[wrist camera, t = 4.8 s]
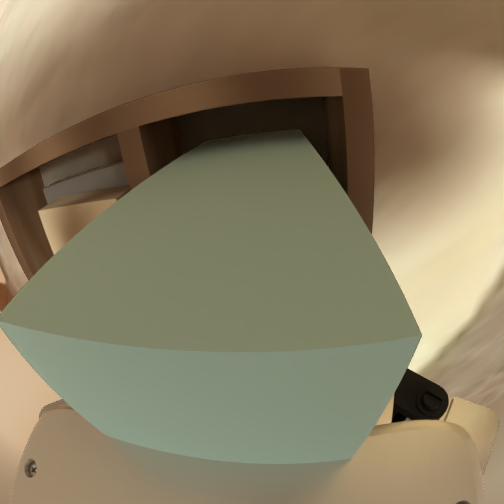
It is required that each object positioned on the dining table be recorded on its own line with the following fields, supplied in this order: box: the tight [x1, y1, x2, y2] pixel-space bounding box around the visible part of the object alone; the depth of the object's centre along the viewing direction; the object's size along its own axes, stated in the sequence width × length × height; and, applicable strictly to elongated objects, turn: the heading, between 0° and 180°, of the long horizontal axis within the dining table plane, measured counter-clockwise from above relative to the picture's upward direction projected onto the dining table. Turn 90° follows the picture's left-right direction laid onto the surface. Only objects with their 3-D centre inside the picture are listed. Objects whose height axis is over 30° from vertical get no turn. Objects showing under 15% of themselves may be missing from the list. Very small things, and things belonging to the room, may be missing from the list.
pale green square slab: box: [0, 129, 422, 464], centre depth 10 cm, size 4×12×12 cm, turn 8°
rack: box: [0, 67, 374, 280], centre depth 14 cm, size 20×17×4 cm
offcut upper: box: [38, 185, 131, 255], centre depth 14 cm, size 6×10×2 cm, turn 4°
